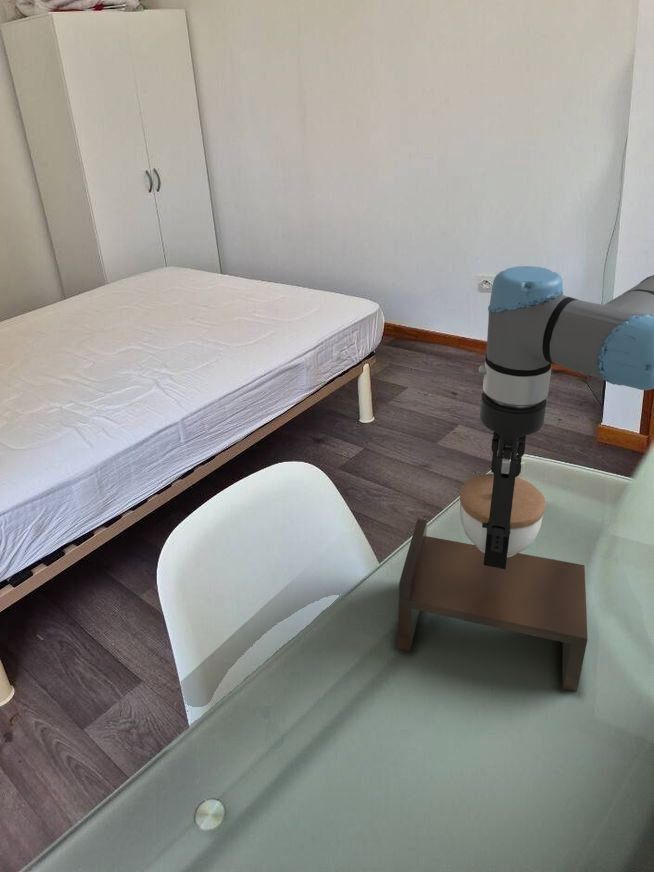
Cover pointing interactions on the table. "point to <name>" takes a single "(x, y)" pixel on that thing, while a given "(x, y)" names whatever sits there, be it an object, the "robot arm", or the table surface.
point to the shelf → (495, 595)
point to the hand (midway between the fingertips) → (498, 537)
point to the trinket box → (523, 514)
